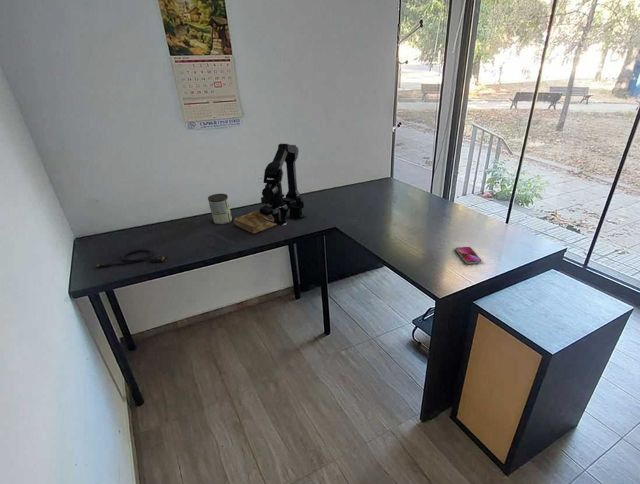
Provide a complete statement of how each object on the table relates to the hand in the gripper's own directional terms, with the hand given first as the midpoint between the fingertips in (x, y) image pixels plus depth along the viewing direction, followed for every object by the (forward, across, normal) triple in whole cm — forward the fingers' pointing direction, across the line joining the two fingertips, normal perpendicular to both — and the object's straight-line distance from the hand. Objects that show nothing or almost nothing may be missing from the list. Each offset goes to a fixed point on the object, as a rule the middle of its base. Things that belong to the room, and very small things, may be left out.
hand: (280, 222), depth 193 cm
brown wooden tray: (+8, 0, -21) cm, 23 cm away
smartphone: (+8, -42, +83) cm, 93 cm away
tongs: (0, 0, -4) cm, 4 cm away
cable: (+8, +60, -34) cm, 69 cm away
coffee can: (+8, +9, -41) cm, 42 cm away
